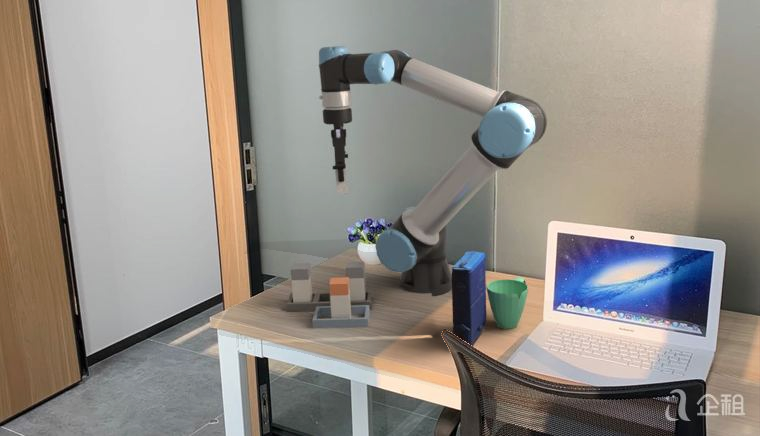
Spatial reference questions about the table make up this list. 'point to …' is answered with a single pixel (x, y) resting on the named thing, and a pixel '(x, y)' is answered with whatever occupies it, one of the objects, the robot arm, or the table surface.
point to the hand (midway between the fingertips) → (342, 187)
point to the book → (469, 296)
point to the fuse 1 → (301, 282)
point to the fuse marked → (340, 297)
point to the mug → (507, 301)
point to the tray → (341, 321)
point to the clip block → (321, 302)
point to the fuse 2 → (356, 280)
